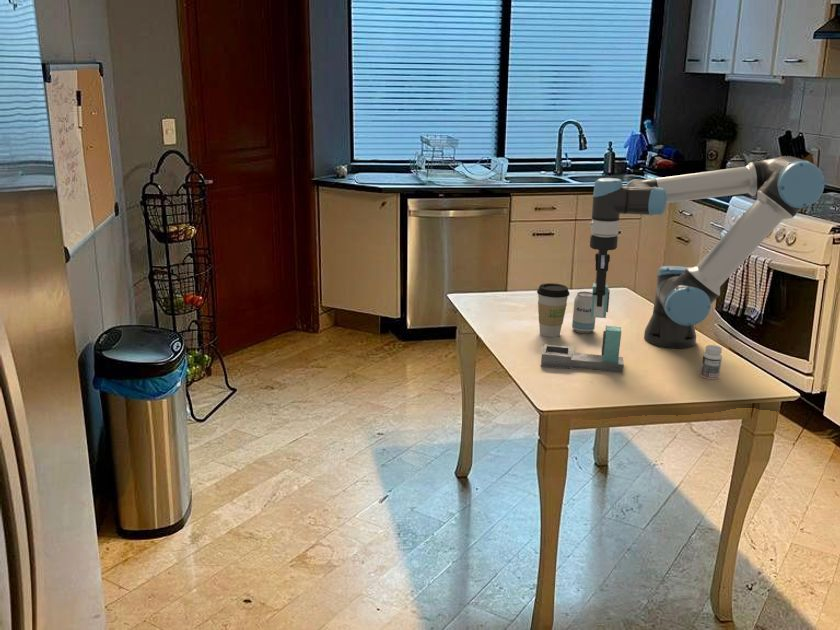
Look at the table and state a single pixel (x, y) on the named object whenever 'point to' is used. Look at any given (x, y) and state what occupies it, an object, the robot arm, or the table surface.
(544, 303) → the coffee cup
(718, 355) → the pill bottle
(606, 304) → the block
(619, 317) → the table surface
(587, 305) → the beverage can
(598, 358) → the grey and teal stand
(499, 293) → the table surface
